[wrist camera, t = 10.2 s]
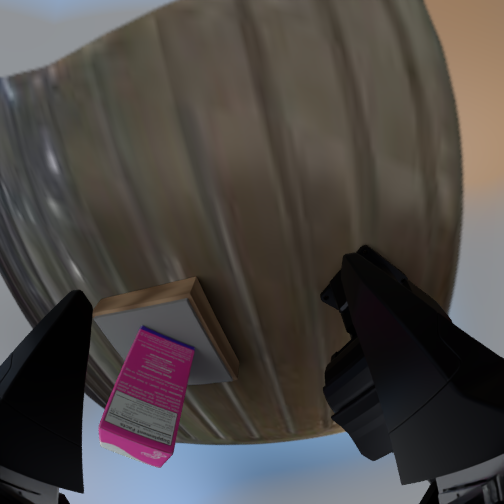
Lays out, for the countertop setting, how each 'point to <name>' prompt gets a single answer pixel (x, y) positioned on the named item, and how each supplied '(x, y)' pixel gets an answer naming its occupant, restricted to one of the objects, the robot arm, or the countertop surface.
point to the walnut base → (171, 326)
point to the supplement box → (147, 399)
